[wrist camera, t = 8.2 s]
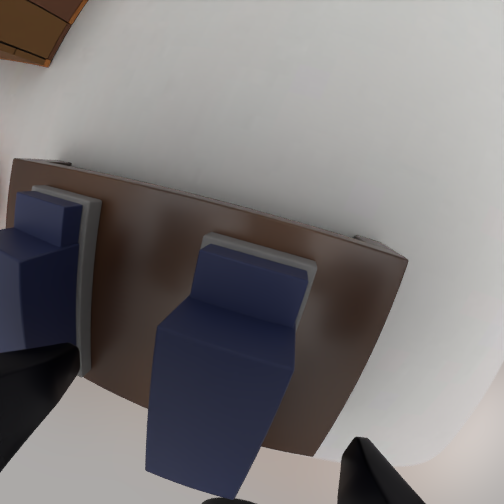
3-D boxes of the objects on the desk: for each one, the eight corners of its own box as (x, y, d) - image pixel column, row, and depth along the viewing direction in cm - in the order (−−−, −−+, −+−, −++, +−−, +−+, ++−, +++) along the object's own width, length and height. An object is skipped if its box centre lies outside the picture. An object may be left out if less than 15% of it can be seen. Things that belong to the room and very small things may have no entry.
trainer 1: (92, 369, 14) (42, 415, 9) (41, 340, 14) (-10, 373, 10) (103, 200, 12) (25, 208, 7) (45, 184, 12) (-26, 189, 8)
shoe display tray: (381, 242, 14) (409, 259, 10) (312, 411, 17) (313, 457, 13) (57, 160, 16) (13, 158, 12) (45, 310, 18) (9, 330, 14)
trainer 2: (253, 432, 13) (237, 504, 8) (175, 408, 13) (139, 471, 9) (316, 260, 11) (328, 305, 6) (210, 231, 11) (158, 255, 7)
